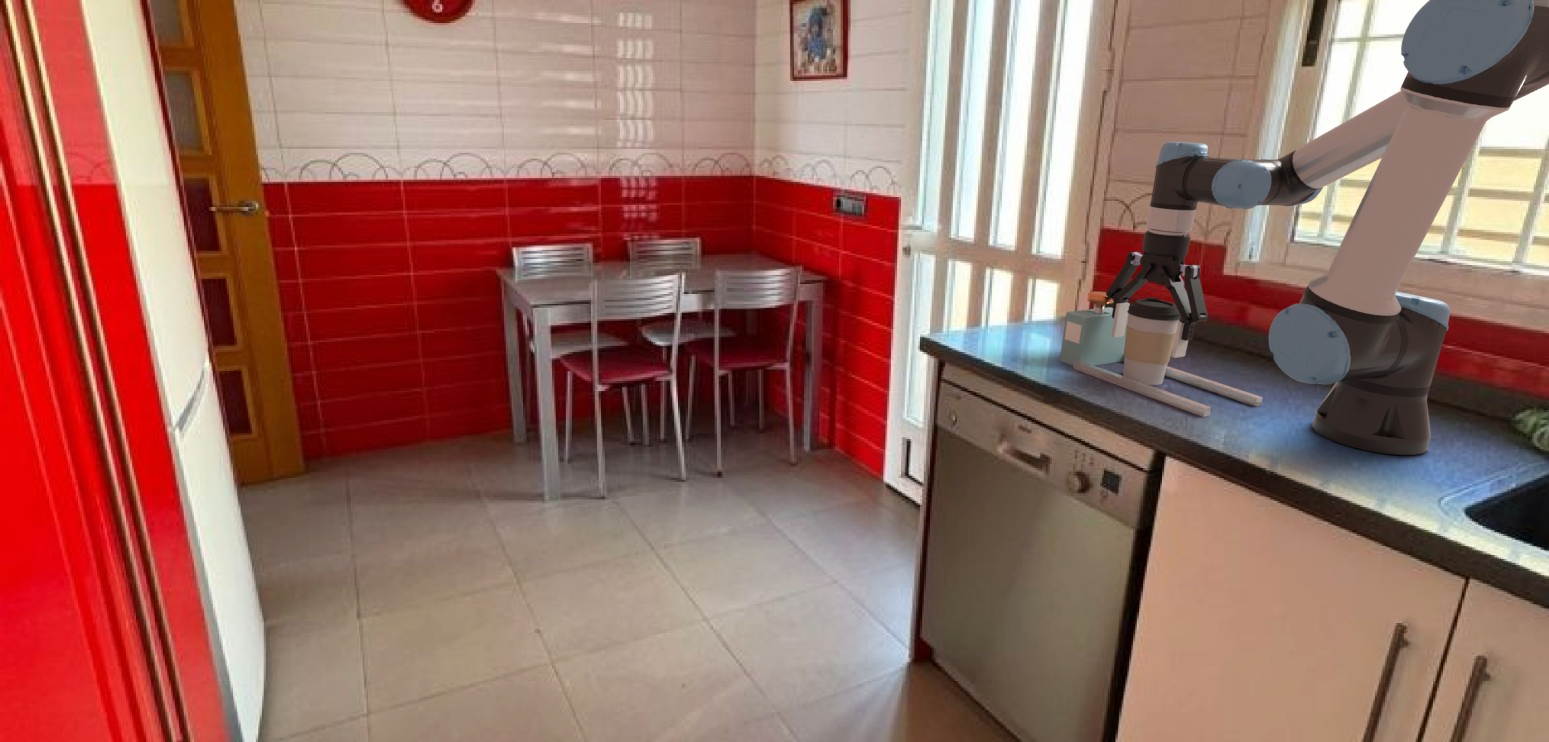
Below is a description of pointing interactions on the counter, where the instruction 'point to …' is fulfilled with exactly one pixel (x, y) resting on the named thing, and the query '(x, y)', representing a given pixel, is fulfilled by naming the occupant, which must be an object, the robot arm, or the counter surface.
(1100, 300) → the knob
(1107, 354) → the cabinet
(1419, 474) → the counter surface
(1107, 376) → the parallel base rails
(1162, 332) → the coffee cup
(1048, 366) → the counter surface
